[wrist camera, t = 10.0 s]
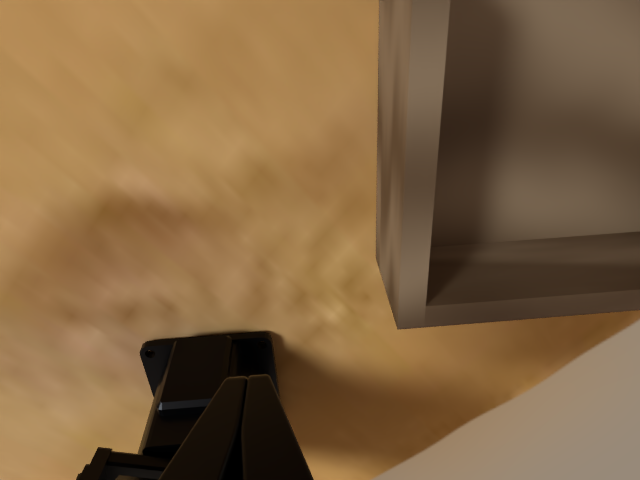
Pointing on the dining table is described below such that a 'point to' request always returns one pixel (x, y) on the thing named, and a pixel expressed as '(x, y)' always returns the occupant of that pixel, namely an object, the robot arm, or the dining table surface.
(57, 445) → the dining table surface
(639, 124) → the brown hollow box
